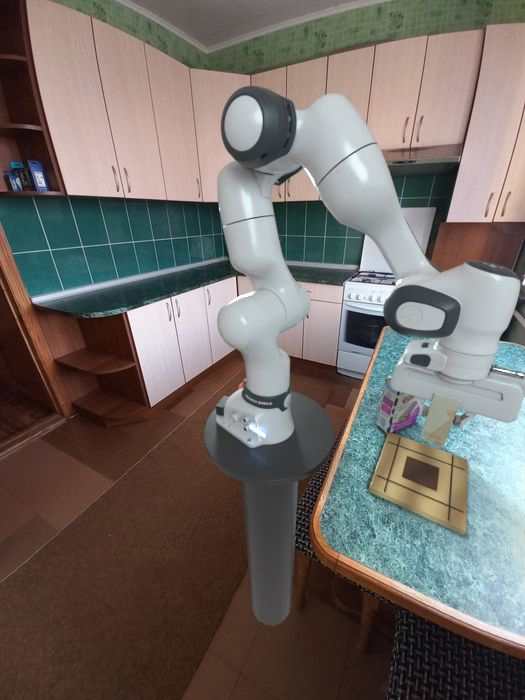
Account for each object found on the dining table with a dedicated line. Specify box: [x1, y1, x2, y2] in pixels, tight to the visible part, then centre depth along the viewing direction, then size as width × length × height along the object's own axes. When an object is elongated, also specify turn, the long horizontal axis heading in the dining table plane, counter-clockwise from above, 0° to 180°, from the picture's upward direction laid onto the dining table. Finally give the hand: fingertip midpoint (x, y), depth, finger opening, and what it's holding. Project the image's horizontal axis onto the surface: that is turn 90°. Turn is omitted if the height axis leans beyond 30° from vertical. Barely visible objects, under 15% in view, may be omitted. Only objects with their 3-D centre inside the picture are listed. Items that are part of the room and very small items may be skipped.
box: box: [419, 393, 461, 448], centre depth 56 cm, size 5×4×11 cm
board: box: [368, 432, 468, 536], centre depth 67 cm, size 18×20×2 cm
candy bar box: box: [375, 375, 420, 435], centre depth 79 cm, size 11×5×16 cm, turn 115°
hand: (439, 420), depth 57 cm, fingers closed on box, 4 cm apart
